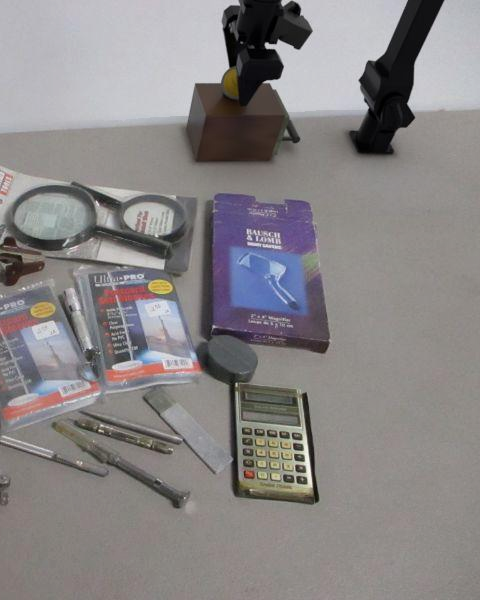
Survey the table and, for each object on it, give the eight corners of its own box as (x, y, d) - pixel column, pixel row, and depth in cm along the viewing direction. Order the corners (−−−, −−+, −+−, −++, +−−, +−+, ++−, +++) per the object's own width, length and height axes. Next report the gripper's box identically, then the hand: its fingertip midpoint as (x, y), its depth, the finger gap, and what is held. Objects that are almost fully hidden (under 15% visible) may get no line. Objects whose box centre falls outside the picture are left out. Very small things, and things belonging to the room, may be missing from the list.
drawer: (285, 126, 111) (298, 89, 105) (299, 155, 105) (313, 117, 99) (198, 127, 110) (207, 89, 104) (208, 155, 104) (217, 117, 98)
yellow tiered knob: (256, 95, 103) (264, 79, 93) (226, 108, 103) (232, 95, 94) (244, 66, 102) (251, 48, 93) (214, 80, 103) (218, 63, 94)
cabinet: (256, 128, 112) (269, 82, 104) (269, 161, 105) (285, 114, 98) (185, 129, 111) (194, 82, 104) (195, 162, 104) (205, 115, 97)
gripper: (334, 25, 82) (298, 123, 94) (302, -30, 94) (273, 63, 106) (254, 23, 82) (228, 121, 94) (232, -33, 94) (211, 61, 105)
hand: (238, 90), depth 100 cm, fingers open, 9 cm apart
